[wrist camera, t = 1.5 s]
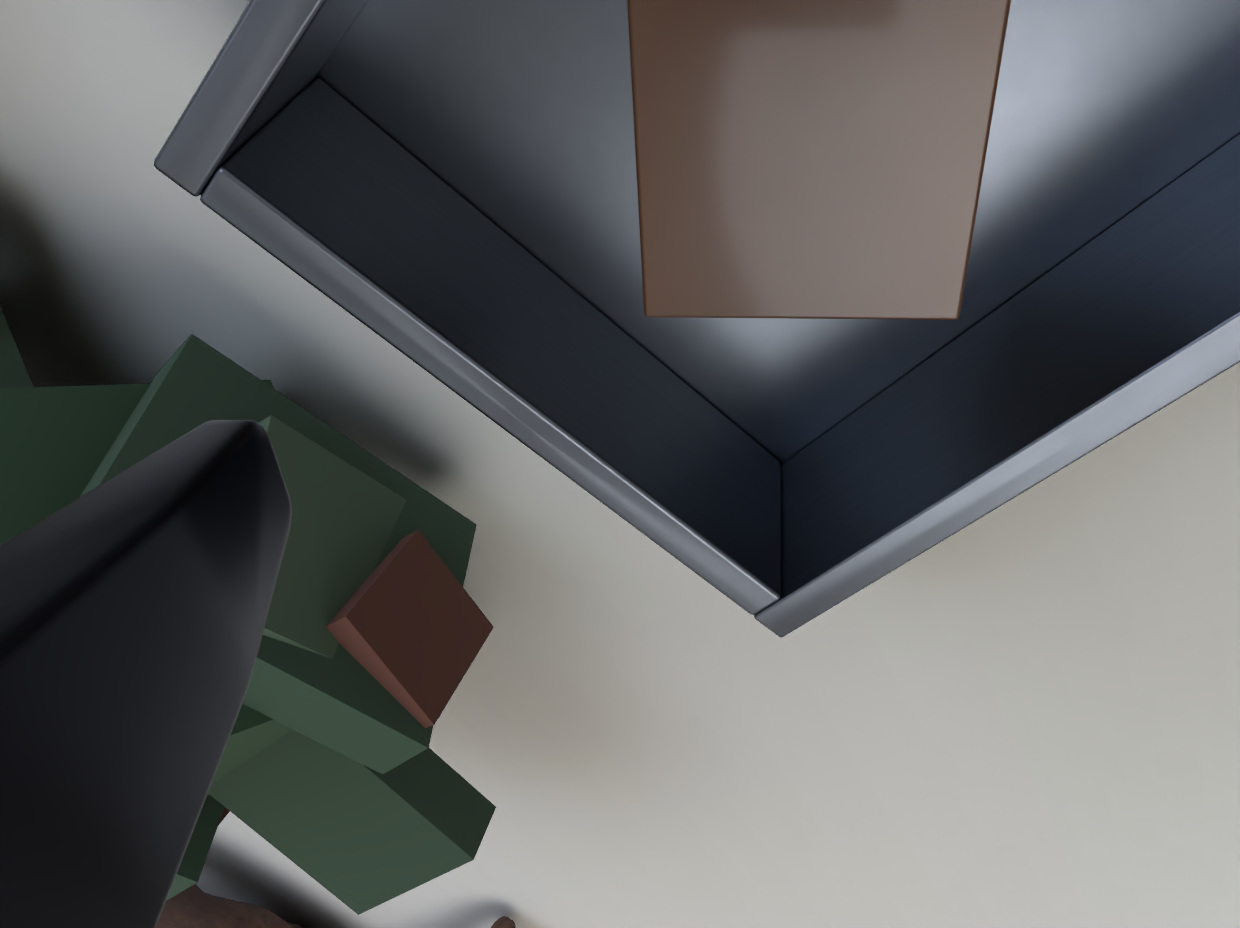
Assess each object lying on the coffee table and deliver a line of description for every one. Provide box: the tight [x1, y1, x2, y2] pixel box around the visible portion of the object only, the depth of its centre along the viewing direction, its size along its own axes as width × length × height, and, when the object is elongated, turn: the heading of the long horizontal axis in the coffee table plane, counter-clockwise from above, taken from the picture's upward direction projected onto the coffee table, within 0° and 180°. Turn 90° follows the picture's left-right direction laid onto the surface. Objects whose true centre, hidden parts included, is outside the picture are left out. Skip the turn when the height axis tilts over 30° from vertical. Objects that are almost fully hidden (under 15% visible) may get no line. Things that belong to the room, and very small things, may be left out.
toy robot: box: [0, 307, 496, 915], centre depth 21 cm, size 12×18×12 cm
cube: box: [627, 0, 1011, 320], centre depth 15 cm, size 4×4×4 cm
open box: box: [154, 0, 1240, 637], centre depth 15 cm, size 13×13×5 cm
